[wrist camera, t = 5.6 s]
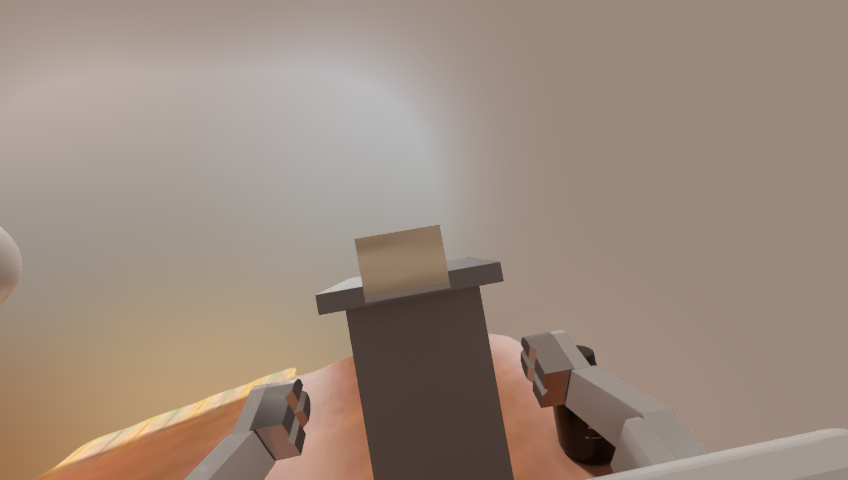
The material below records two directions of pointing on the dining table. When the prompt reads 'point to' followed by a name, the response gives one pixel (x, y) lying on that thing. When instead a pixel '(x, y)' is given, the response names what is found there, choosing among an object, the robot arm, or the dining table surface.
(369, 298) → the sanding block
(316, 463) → the dining table surface
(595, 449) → the supplement bottle
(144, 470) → the dining table surface
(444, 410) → the tool stand
